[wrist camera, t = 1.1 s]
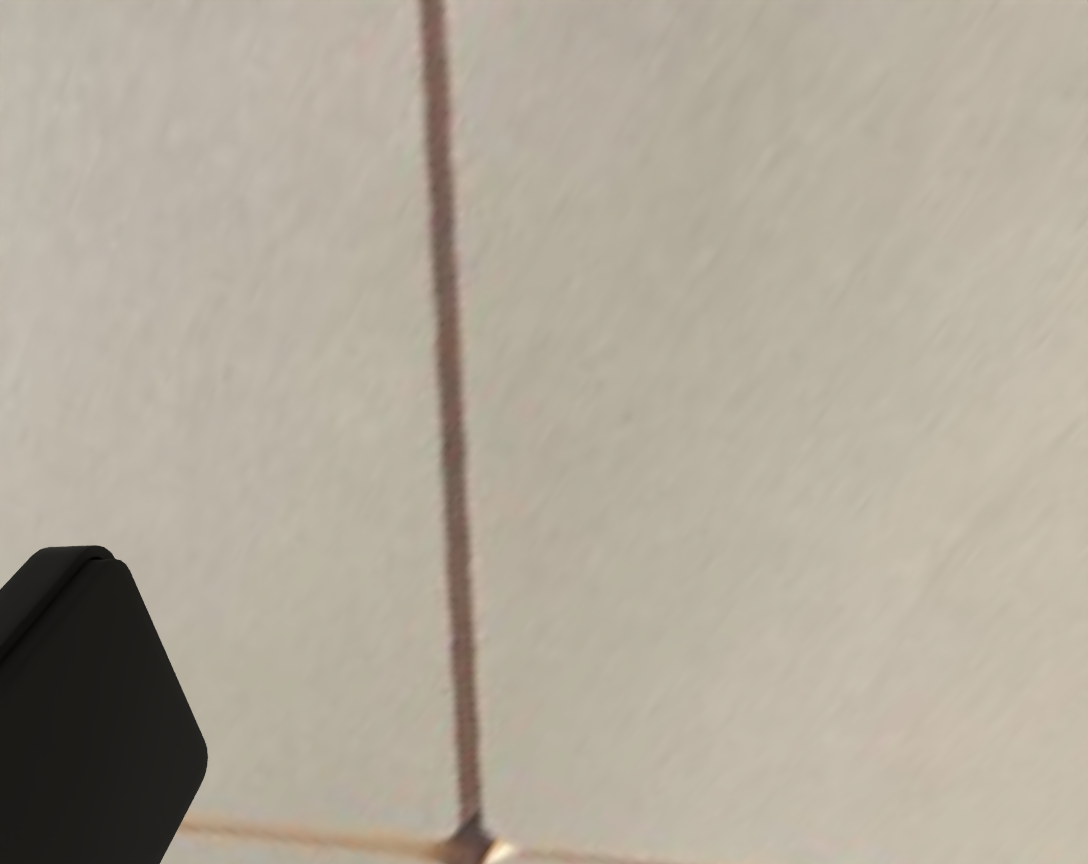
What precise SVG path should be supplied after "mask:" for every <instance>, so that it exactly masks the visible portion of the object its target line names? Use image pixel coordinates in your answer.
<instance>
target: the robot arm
mask: <svg viewBox="0 0 1088 864" xmlns="http://www.w3.org/2000/svg"><path fill="white" fill-rule="evenodd" d="M207 760H208V754H207V747H206V743H205V740H204V738H203V736H202V734H201V731H200V729H199V727H198V725H197V722H196V720H195V718H194V715H193V713H192V711H191V709H190V706H189V704H188V702H187V700H186V697H185V695H184V693H183V690H182V688H181V686H180V684H179V681H178V679H177V677H176V675H175V672H174V670H173V668H172V665H171V663H170V661H169V659H168V656H167V654H166V652H165V649H164V647H163V645H162V643H161V640H160V638H159V636H158V634H157V631H156V629H155V627H154V624H153V622H152V620H151V618H150V615H149V613H148V611H147V609H146V606H145V604H144V602H143V599H142V597H141V595H140V593H139V590H138V588H137V586H136V584H135V581H134V579H133V577H132V574H131V572H130V570H129V569H128V567H127V565H126V564H125V563H123V562H122V561H121V560H117V559H115V558H114V556H113V555H112V553H111V552H110V551H108V550H107V549H106V548H105V547H101V546H96V545H95V546H68V547H48V548H44V549H40V550H39V551H38V552H36V553H35V554H34V555H32V556H31V557H30V558H29V559H28V561H27V562H26V563H25V564H24V565H23V566H22V567H21V568H20V569H19V570H18V571H17V572H16V573H15V574H14V575H13V577H12V578H11V579H10V580H9V581H8V582H7V583H6V584H5V585H4V586H3V587H2V588H1V589H0V864H160V862H161V860H162V858H163V856H164V854H165V852H166V850H167V849H168V847H169V845H170V843H171V841H172V839H173V837H174V835H175V833H176V831H177V829H178V827H179V826H180V824H181V822H182V820H183V818H184V816H185V814H186V812H187V810H188V808H189V806H190V804H191V802H192V801H193V799H194V797H195V795H196V793H197V791H198V789H199V787H200V785H201V783H202V781H203V779H204V776H205V773H206V768H207Z"/></svg>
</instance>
